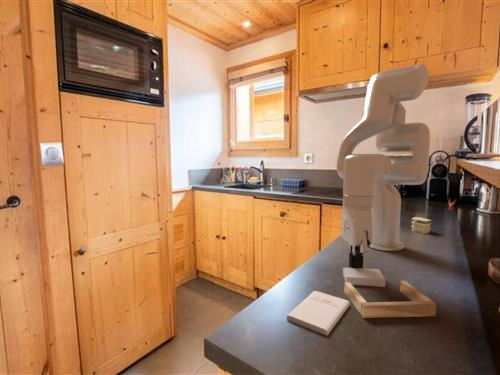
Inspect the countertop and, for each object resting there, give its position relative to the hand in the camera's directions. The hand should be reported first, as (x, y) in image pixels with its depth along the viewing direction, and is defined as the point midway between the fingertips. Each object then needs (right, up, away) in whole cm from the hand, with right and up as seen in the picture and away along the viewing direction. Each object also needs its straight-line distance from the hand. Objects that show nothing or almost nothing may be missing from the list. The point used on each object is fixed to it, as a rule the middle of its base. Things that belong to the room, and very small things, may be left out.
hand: (355, 267), depth 74 cm
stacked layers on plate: (+43, +3, +40) cm, 59 cm away
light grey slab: (0, -3, -4) cm, 5 cm away
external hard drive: (-15, -4, -18) cm, 24 cm away
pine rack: (0, -3, -15) cm, 15 cm away
